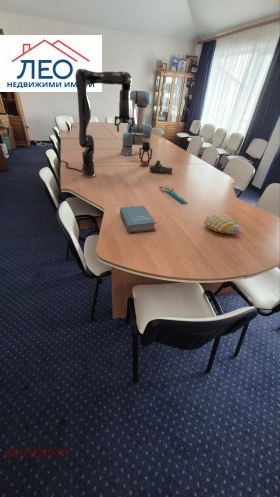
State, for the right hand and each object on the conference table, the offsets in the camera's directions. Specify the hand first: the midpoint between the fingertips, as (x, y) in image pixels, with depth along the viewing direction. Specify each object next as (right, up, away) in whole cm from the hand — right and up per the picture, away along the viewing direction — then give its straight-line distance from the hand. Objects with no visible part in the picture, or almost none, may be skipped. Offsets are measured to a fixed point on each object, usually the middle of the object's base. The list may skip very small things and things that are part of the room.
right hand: (144, 165), depth 235 cm
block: (0, 0, 0) cm, 0 cm away
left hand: (-17, 0, -67) cm, 69 cm away
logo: (+22, -45, -59) cm, 77 cm away
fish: (+46, -77, -99) cm, 134 cm away
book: (-7, -72, -97) cm, 121 cm away
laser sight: (+15, -13, -16) cm, 26 cm away
